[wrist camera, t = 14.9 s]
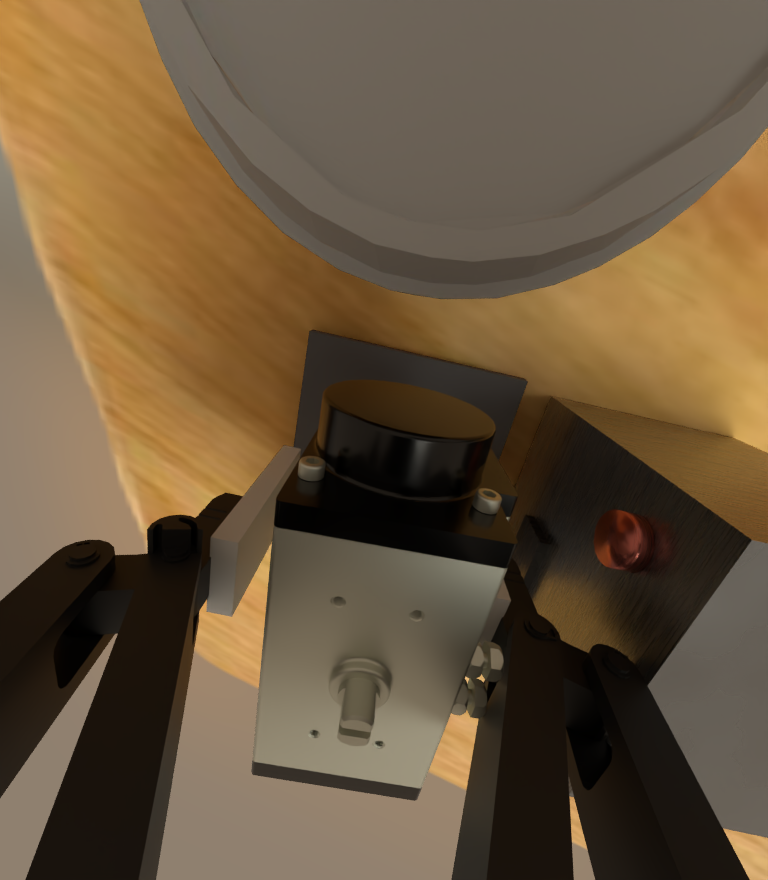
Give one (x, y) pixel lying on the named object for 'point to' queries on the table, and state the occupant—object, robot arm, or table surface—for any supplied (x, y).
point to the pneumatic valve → (381, 589)
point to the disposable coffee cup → (470, 125)
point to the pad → (401, 381)
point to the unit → (660, 577)
